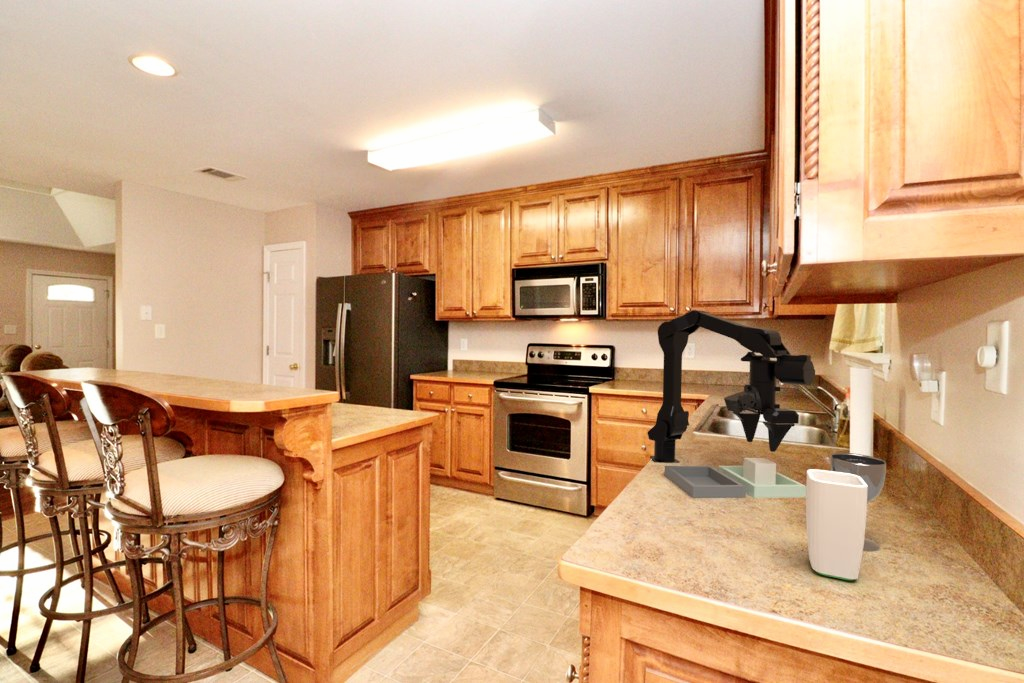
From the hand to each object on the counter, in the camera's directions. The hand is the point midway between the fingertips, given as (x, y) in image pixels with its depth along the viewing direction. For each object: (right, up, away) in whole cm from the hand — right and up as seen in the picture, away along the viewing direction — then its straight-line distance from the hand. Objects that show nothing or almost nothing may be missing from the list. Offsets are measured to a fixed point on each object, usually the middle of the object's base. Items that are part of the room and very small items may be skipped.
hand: (760, 446), depth 113 cm
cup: (-9, -11, -39) cm, 42 cm away
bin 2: (0, -10, 0) cm, 10 cm away
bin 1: (-14, -10, -1) cm, 17 cm away
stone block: (0, -9, 0) cm, 9 cm away
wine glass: (+2, -11, -29) cm, 31 cm away
